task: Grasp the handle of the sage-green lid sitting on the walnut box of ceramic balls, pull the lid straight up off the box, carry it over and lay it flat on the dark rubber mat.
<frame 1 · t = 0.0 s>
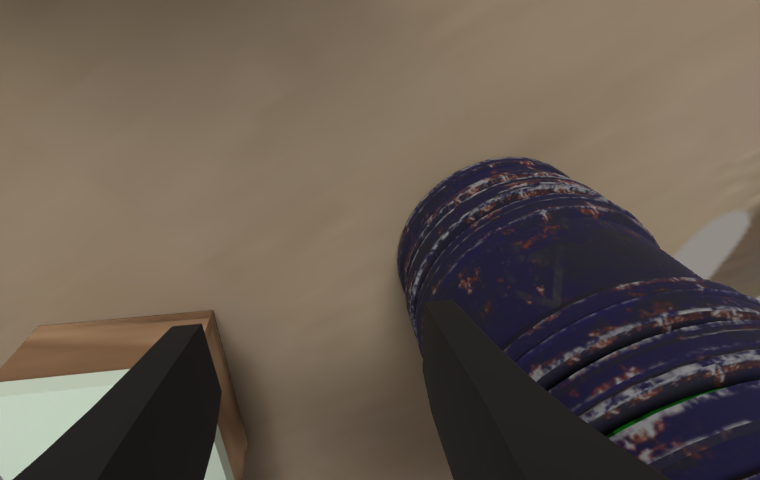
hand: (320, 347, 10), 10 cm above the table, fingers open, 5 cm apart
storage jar: (492, 249, 22), on the table, touching gripper
lid: (125, 460, 20), point 4 cm above the table, touching box
box: (155, 392, 23), on the table
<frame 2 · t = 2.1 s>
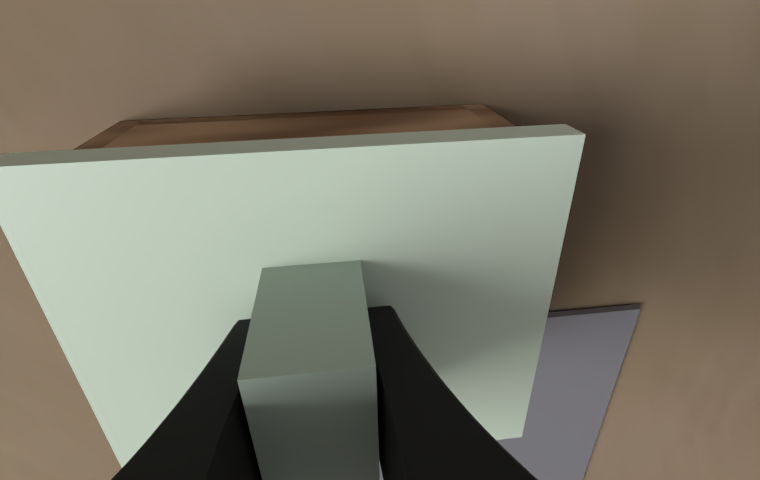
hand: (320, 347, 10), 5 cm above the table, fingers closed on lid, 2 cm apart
lid: (320, 316, 11), point 4 cm above the table, touching box, gripper
mat: (452, 425, 19), on the table
box: (320, 237, 14), on the table
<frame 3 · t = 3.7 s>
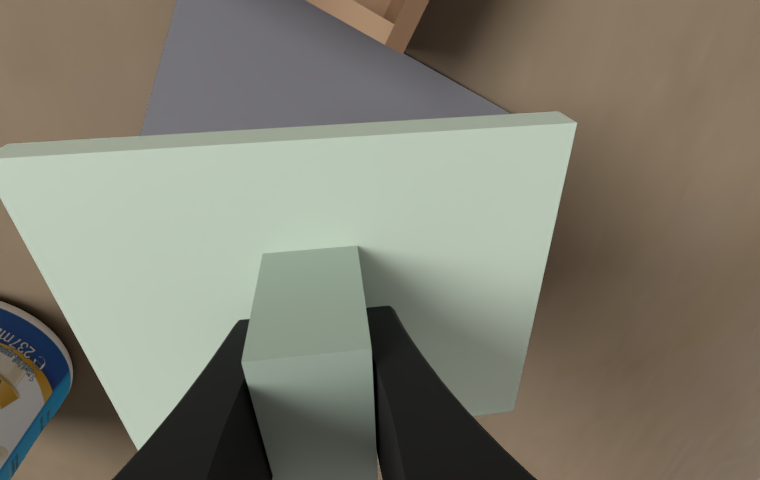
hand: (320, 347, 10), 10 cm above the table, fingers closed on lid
lid: (319, 298, 11), point 9 cm above the table, touching gripper
mat: (320, 179, 19), on the table
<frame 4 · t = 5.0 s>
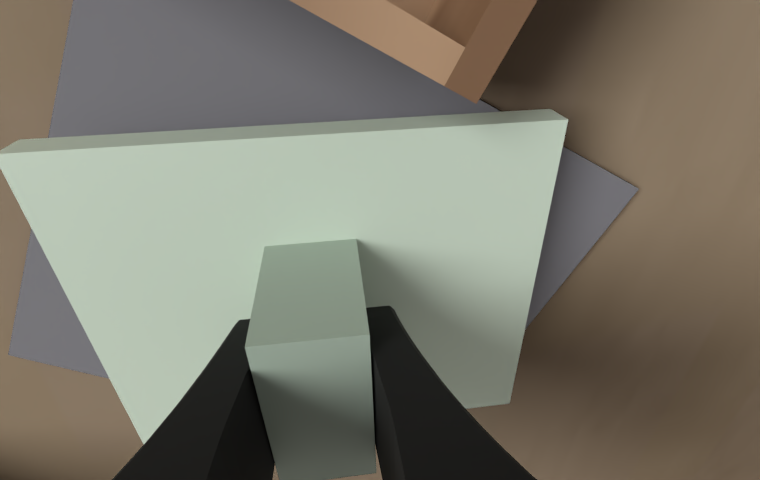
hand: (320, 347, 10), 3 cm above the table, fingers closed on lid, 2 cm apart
lid: (319, 291, 11), point 1 cm above the table, touching gripper
mat: (320, 266, 13), on the table
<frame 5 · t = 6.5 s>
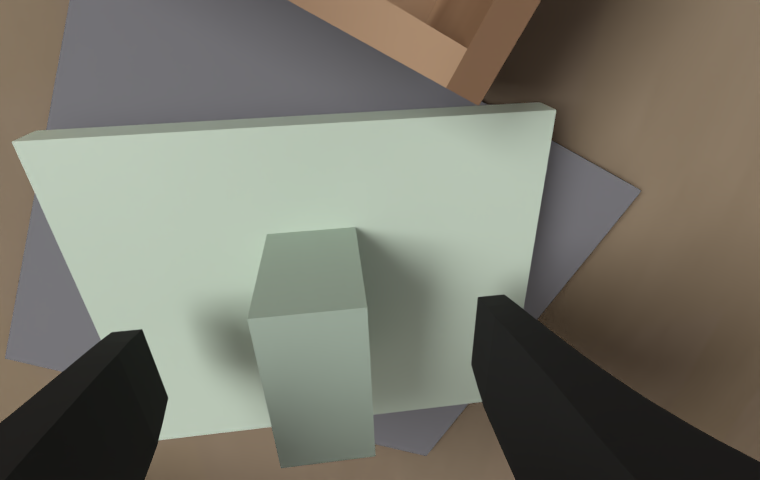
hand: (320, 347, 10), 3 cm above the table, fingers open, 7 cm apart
lid: (320, 283, 12), point 1 cm above the table, touching mat
mat: (320, 269, 12), on the table
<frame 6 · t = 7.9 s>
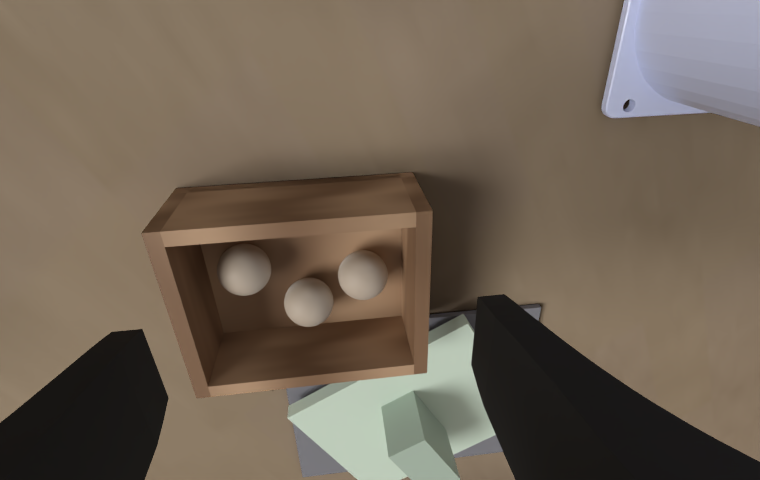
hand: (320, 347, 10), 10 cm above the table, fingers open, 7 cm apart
lid: (411, 406, 25), point 1 cm above the table, touching mat
mat: (410, 395, 26), on the table
box: (307, 259, 21), on the table
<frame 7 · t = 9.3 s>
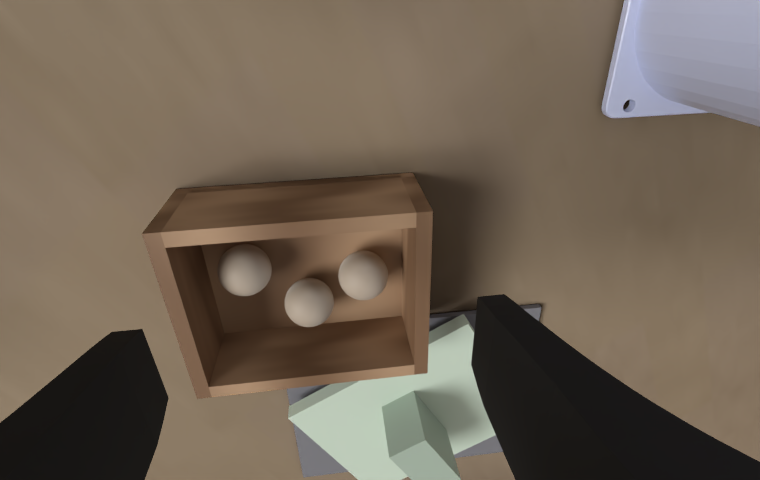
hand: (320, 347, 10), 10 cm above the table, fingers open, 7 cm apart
lid: (412, 406, 25), point 1 cm above the table, touching mat
mat: (410, 395, 26), on the table
box: (307, 260, 21), on the table
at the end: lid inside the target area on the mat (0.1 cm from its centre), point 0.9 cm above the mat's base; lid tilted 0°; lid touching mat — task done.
